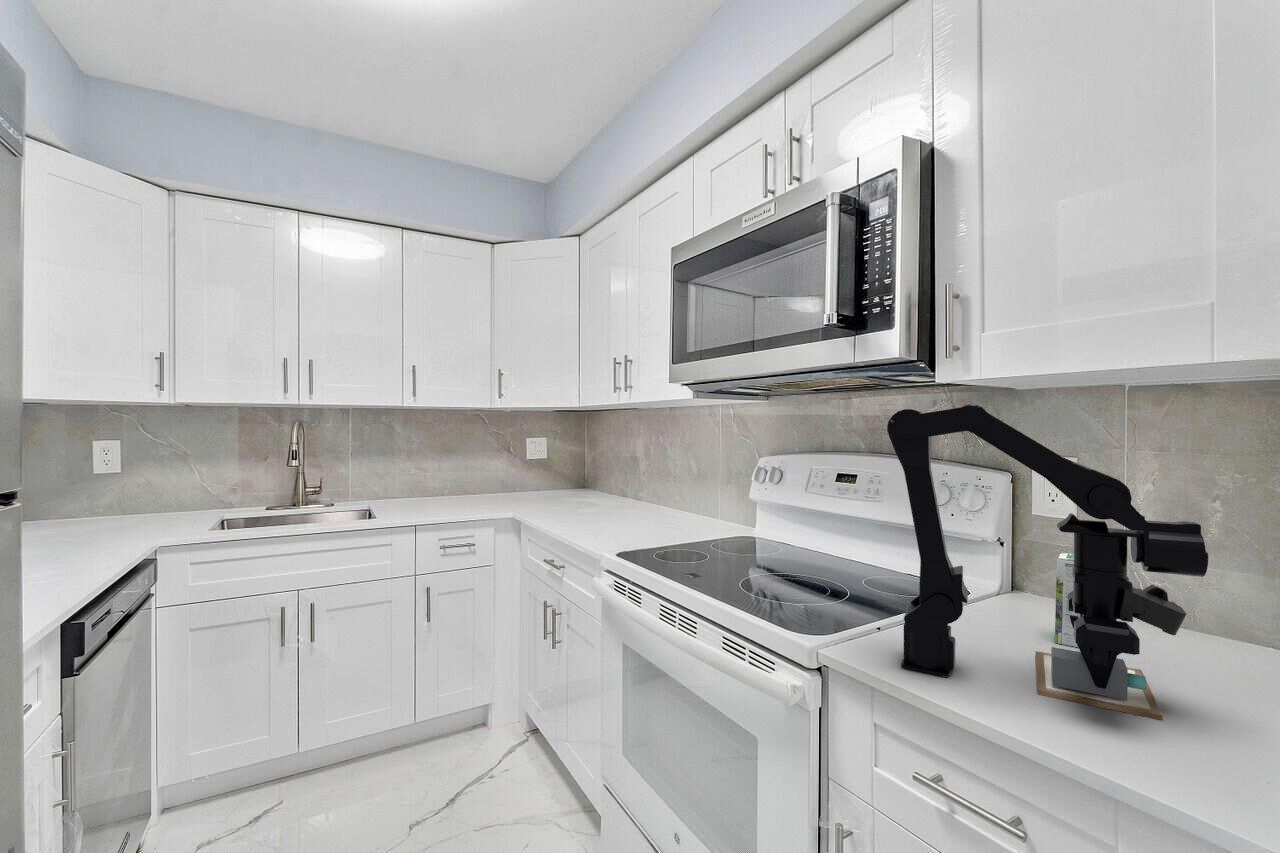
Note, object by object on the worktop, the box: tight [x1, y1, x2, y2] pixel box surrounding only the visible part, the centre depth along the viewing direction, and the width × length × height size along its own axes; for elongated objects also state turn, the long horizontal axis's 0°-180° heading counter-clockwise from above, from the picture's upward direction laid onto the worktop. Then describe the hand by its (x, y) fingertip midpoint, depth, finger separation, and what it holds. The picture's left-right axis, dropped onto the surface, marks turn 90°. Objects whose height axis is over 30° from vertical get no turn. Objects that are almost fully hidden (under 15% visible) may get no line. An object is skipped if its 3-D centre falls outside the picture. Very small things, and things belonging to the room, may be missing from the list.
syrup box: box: [1054, 552, 1079, 648], centre depth 99 cm, size 6×6×14 cm
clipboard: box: [1035, 650, 1164, 721], centre depth 84 cm, size 13×16×2 cm
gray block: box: [1050, 646, 1147, 700], centre depth 80 cm, size 10×4×4 cm, turn 57°
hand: (1099, 681), depth 80 cm, fingers closed on gray block, 4 cm apart
